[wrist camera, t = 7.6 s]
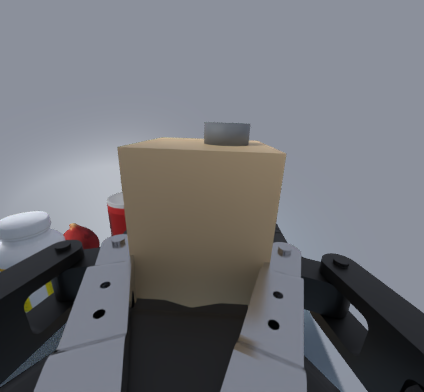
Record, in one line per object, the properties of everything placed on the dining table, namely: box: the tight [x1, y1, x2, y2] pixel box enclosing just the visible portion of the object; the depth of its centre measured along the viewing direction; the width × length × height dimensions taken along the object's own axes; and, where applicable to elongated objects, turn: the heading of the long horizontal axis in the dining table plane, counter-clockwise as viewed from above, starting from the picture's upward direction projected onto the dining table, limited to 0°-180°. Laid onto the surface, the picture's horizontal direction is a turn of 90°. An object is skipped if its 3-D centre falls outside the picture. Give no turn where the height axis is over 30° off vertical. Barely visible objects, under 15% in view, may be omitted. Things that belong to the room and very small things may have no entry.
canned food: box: [107, 192, 127, 236], centre depth 38 cm, size 8×8×11 cm
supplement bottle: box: [0, 211, 65, 313], centre depth 25 cm, size 7×7×13 cm
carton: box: [118, 122, 286, 307], centre depth 10 cm, size 5×5×13 cm
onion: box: [63, 223, 99, 249], centre depth 34 cm, size 6×6×8 cm
